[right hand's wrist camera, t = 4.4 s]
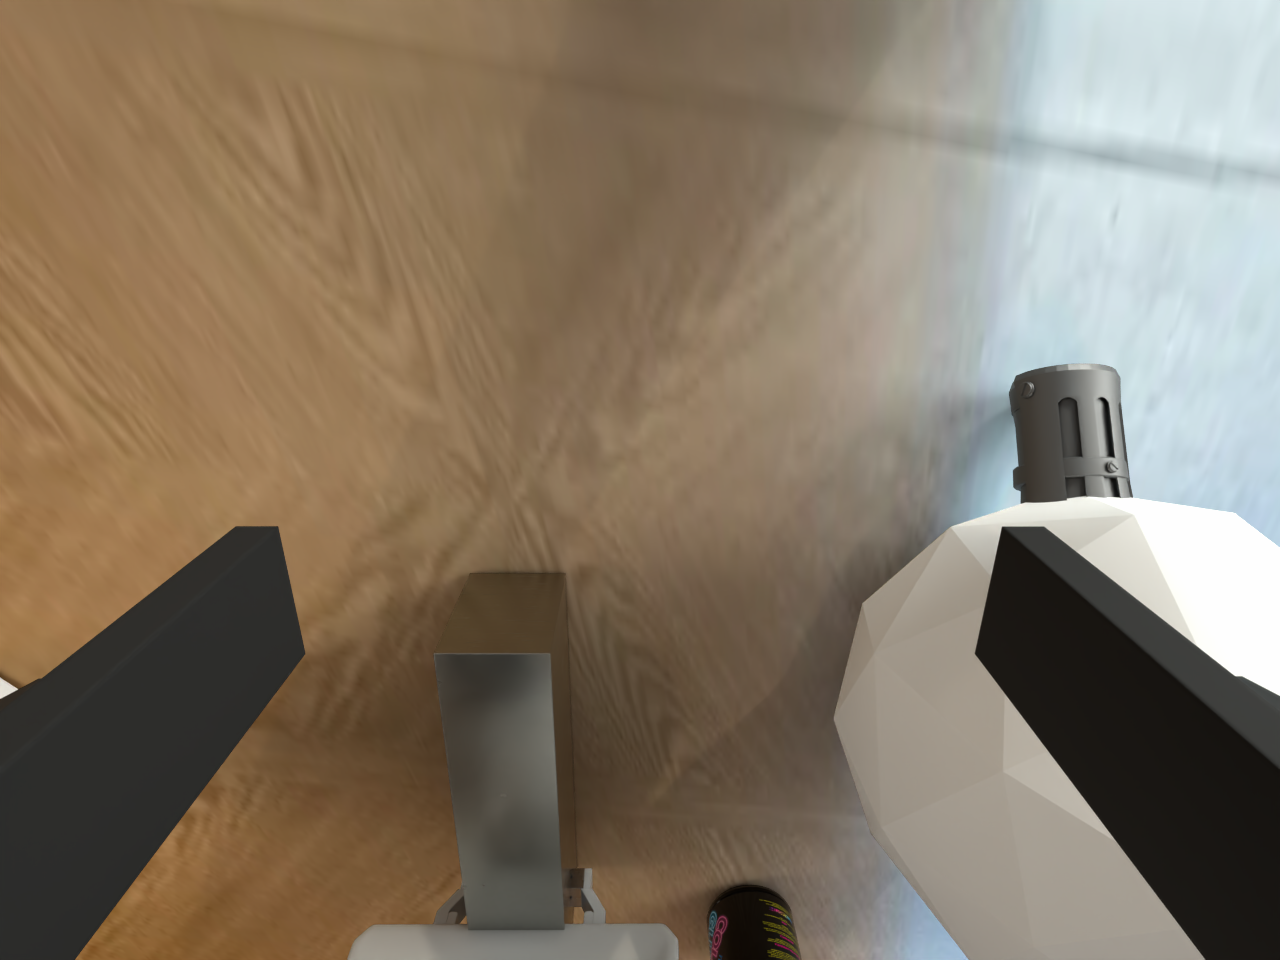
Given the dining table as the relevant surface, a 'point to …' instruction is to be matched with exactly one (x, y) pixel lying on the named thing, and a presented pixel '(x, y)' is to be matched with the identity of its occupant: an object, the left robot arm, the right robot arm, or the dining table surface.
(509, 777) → the bar
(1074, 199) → the dining table surface
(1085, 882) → the white rounded piece
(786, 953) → the supplement container
